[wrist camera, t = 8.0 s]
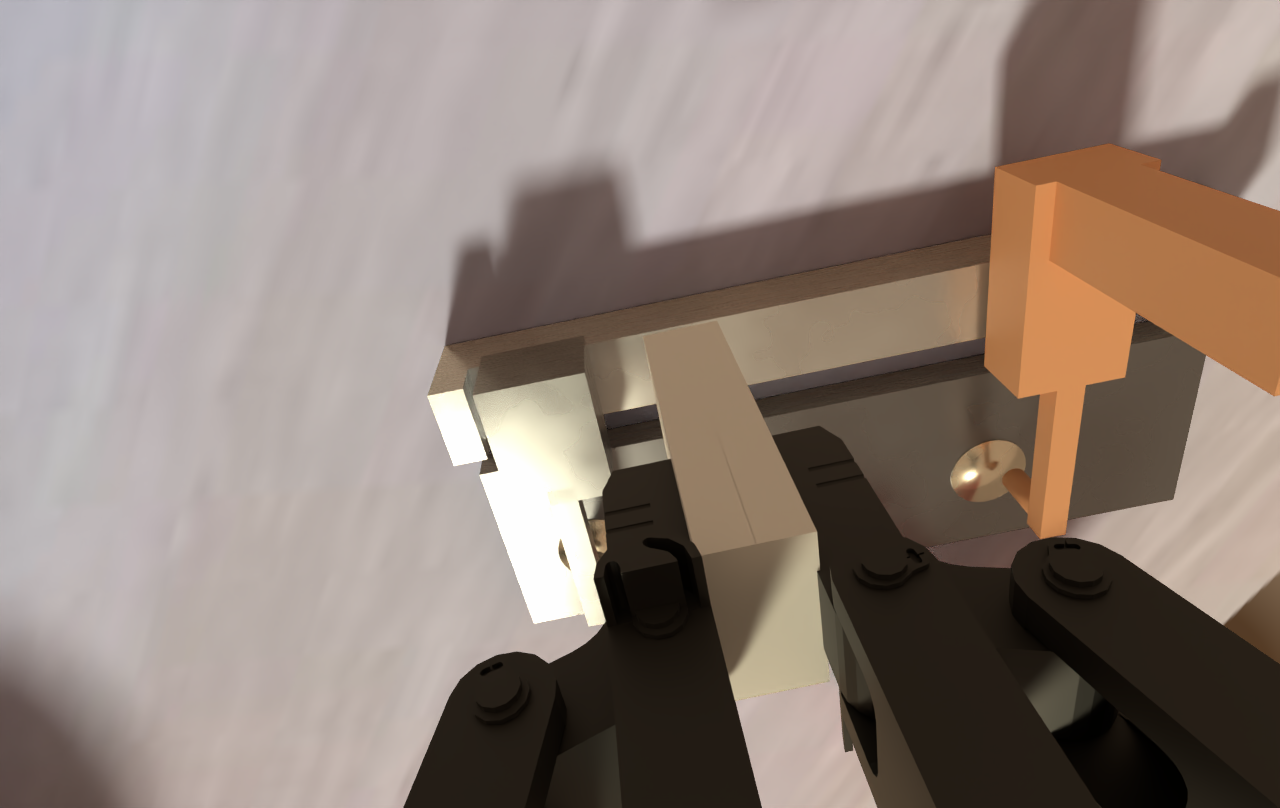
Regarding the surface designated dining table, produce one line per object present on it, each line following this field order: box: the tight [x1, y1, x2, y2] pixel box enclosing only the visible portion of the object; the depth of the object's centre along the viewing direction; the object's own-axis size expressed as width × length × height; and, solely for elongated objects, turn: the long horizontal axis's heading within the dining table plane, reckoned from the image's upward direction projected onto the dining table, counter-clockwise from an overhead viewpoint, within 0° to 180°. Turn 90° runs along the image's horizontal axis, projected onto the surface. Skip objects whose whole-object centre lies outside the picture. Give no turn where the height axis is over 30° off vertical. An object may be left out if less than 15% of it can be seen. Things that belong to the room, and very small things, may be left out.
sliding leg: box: [984, 143, 1280, 539], centre depth 19 cm, size 3×12×10 cm, turn 10°
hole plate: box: [480, 321, 1206, 623], centre depth 26 cm, size 24×7×1 cm, turn 101°
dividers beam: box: [428, 234, 991, 626], centre depth 23 cm, size 24×9×4 cm, turn 101°
